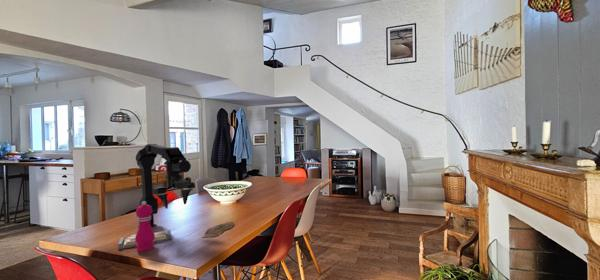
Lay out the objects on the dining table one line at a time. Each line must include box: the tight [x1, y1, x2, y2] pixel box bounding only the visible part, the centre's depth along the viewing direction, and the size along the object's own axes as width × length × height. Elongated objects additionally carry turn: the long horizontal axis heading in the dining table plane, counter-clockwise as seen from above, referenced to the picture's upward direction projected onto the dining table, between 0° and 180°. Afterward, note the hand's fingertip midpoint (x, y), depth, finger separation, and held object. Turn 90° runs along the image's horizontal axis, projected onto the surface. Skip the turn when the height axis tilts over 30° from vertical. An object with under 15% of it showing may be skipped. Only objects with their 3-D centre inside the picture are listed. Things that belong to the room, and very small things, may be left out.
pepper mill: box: [135, 201, 155, 252], centre depth 114 cm, size 7×7×20 cm
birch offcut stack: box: [124, 230, 167, 246], centre depth 121 cm, size 8×16×2 cm, turn 118°
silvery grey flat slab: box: [118, 229, 172, 250], centre depth 121 cm, size 8×20×2 cm, turn 118°
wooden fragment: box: [202, 220, 236, 239], centre depth 136 cm, size 26×11×1 cm, turn 161°
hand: (176, 206), depth 127 cm, fingers open, 9 cm apart
